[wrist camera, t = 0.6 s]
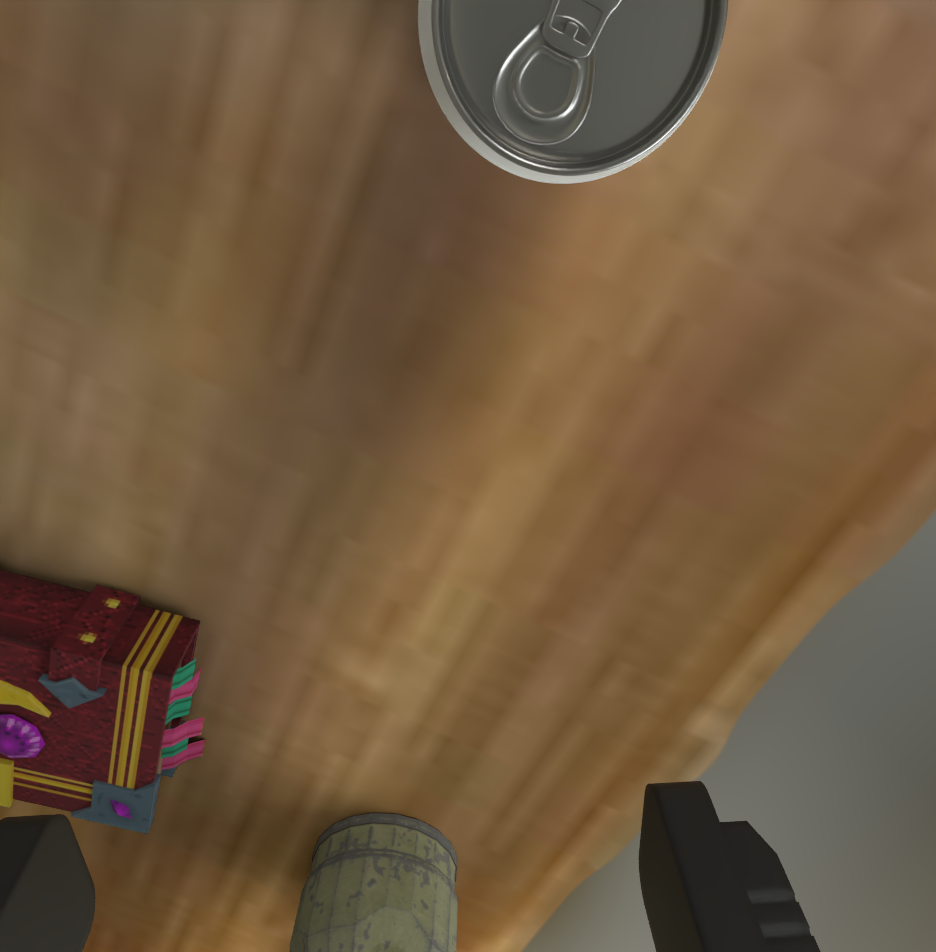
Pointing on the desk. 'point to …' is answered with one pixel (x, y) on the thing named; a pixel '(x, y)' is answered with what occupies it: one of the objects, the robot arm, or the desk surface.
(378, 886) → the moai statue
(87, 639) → the decorative book
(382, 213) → the desk surface
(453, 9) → the can
